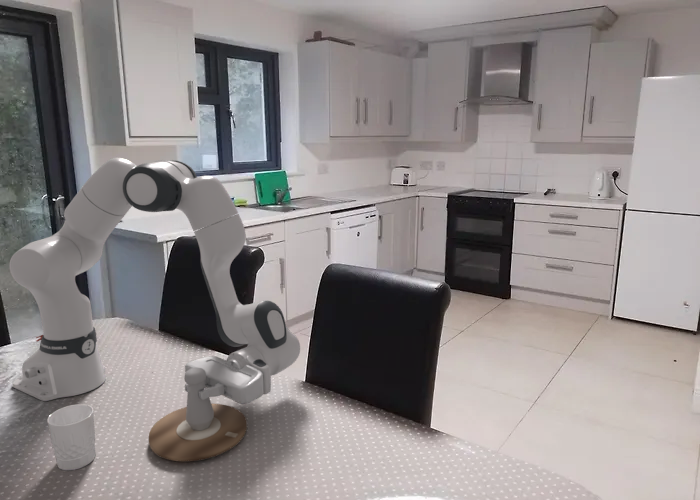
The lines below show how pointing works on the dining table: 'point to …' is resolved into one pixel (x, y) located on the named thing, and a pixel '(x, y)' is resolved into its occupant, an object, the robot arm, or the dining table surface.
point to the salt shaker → (197, 401)
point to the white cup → (73, 436)
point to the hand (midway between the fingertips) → (193, 392)
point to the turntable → (197, 435)
